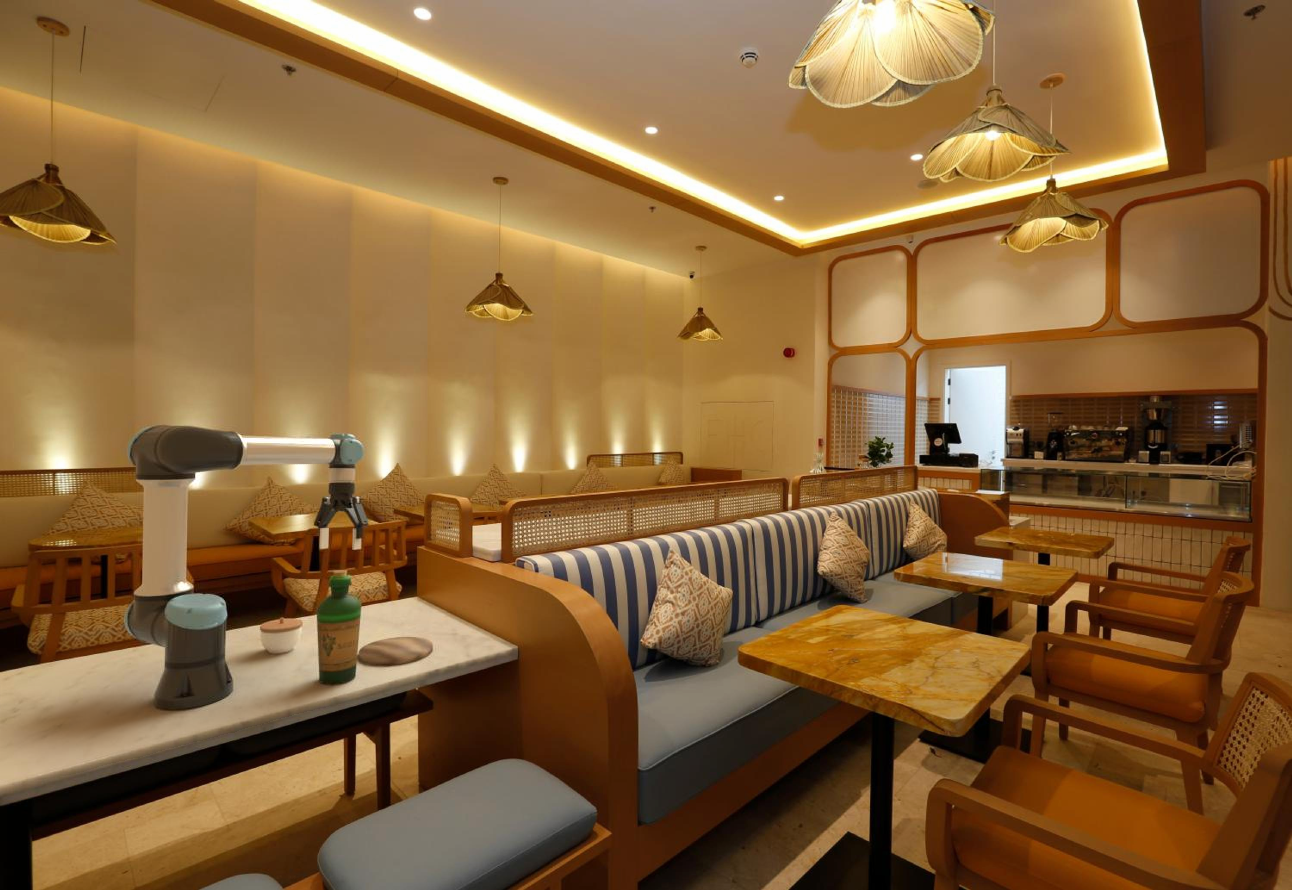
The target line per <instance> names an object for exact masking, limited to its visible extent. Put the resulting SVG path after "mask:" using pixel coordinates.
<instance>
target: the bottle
mask: <svg viewBox="0 0 1292 890" xmlns="http://www.w3.org/2000/svg"><path fill="white" fill-rule="evenodd" d="M347 573H348V570H346V569H340V570H339V569H337V570H333V575H331V576H330V578H329V582H328V585H327V586H328V587H329V588H330V593H331V594H330V595H328V596H327V597H326V598H324V599H322V600H321V601H320V603H319V604H318V605H317V607H316V628H317V634H316V635H317V657H318V676H319V677H318V679H319V680H318V681H319V682H321V683H323V684H325V685H338V684H345V683H346V682H349V681H351V680H352V679H354V678H355V677H356V676H357V675H356V673H357V665H358V664H357V661H358V654H359V639H360V629H361V628H360V627H361V614H362V602H361V601H360V599H359V598H358V597H356V596H354V595H353V594H349V592H350V591H349V588H350V586H352V579H351V575H350V574H347Z"/></svg>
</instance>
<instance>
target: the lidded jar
mask: <svg viewBox="0 0 1292 890" xmlns="http://www.w3.org/2000/svg"><path fill="white" fill-rule="evenodd" d="M259 630H260V633H259V634H260V635H259V636H260V637H259V638H260V641H261V644H262V646H263V648H264V649H266V650H267V651H268V653H269V654H274V655H275V654H283V653H288V652H290V651H293V649H294V648H295V647H296V646H297V645H298V644H299V641H300V640H301V638H302V637H301V636H302V632H303V620H302V619H299V618H284V617H280V618H279V619H275V620H274V619H273V620H269V621H266V622H264V623H261V625H260V626H259Z"/></svg>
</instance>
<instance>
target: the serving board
mask: <svg viewBox="0 0 1292 890" xmlns="http://www.w3.org/2000/svg"><path fill="white" fill-rule="evenodd" d="M433 645H434V644H433V642H432V641H431V640H429V639H427V638H422V637H417V636H416V637H415V636H398V637H396V636H395V637H390V638H384V639H380V640H375V641H372V642H370V643H367V644H365V645H363V646H362V647H361V648H360V649H358V659H359V661H360V662H362V663H364V664H367V665H371V666H384V667H385V666H397V665H404V664H410V663H414V662H417V661H420V660H422V659H425V658H426V657H429V656H430V655H431V654H432V653H433V650H434V646H433Z"/></svg>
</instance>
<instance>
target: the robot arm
mask: <svg viewBox="0 0 1292 890" xmlns="http://www.w3.org/2000/svg"><path fill="white" fill-rule="evenodd" d="M364 452H365V449H364V445H363V444H362V443H361V441H359V440H358V439H356V436H355V435H353V434H350V433H332V434H330V436H329V438H328V437H312V436H311V437H310V436H299V437H297V436H271V435H270V436H268V435H267V436H264V435H241V434H239V432H237V431H231V430H219V429H212V428H211V429H210V428H205V427H199V426H193V425H170V424H169V425H168V424H156V425H152V426H147V427H144V428H142V429H141V430H138V431H137V432H136V433H135V434H134V435H133V436H132V437H131V438H130V440H129V441H128V444H127V447H126V454H127V458H128V461H129V462H130V463H131V464H132V466H134V467H135V481H136V482H137V483H138V484H139V485H141V486H142V487H143V515H142V516H143V517H142V521H143V523H142V527H143V528H142V574H141V575H142V578H141V579H142V581H141V585H140V586H139V587H138V588H137V589H136V590H134V592H133V601H132V602H131V603H130V605H129V606H128V607H127V608H126V611H124V616H123V618H124V619H123V622H124V627H125V630H126V631H127V632H128V634H129V635H130V636H132V637H133V638H135V639H136V640H138V641H140V642H142V643H145V644H148V645H149V644H150V645H151V644H152V645H154V646H158V647H161V648H164V669H163V671H162V674H161V677H160V680H159V681H158V685H157V686H156V689H155V691H154V694H153V695H154V696H153V705H154V707H156V708H157V709H161V710H170V711H171V710H172V711H173V710H174V711H175V710H185V709H192V708H198V707H201V706H205V705H210V704H212V703H215V702H217V701H220V700H222V699H224V698H226V697H228V696H229V695H231V694H232V693H233V691H234V679H233V676H232V673H231V671H230V668H229V666H228V663H227V660H226V646H227V645H226V643H227V636H226V635H227V618H228V611H227V603H226V601H225V600H224V598H222V596H221V597H220V595H216V594H212V593H205V594H203V593H194V590H195V589H194V588H195V587H194V584H192V583H191V582H190V581H188V580H187V556H188V555H187V554H188V551H187V550H188V547H187V545H188V505H189V504H188V500H189V499H188V497H189V491H188V490H189V486H190V484H192V483H193V482H194V481H195V480H196V473H202V472H211V471H222V470H236V469H237V468H239V467H240V466H268V465H269V466H271V465H272V466H275V465H277V466H278V465H328V481H329V483H328V490H327V491H328V494H329V496H327V497H322V499H321V504H320V507H319V509H318V512H317V515H316V517H315V519H314V521H313V526H314V527H317V528H318V538H319V550H323V549H324V550H325V549H329V540H330V539H329V537H330V535H329V534H330V533H329V532H330V528H329V524H330V523H331V521H332V520H333V518H334V516H335V515H336V514H337V513H338V512H344V513H346V515H347V517H348V518H349V520H350V521H351V523H352V525H353V526H354V527H353V528H352V546H351V547H352V550H353V551H354V550H361V549H362V539H363V537H364V536H363V534H364V530H363V529H364V528H365V527H369V521H368V519H367V514H366V513H365V510H364V506H363V504H362V498H361V496H353V495H354V494H355V490H356V483H354V482H355V480H356V464H358V463H359V462H360V461H361V460H362V459H363V457H364Z"/></svg>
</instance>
